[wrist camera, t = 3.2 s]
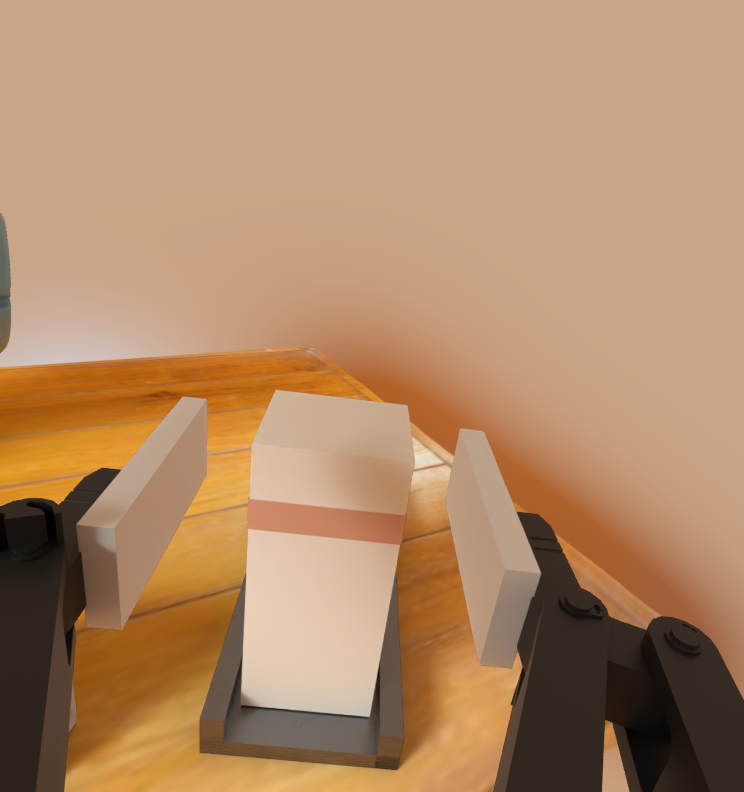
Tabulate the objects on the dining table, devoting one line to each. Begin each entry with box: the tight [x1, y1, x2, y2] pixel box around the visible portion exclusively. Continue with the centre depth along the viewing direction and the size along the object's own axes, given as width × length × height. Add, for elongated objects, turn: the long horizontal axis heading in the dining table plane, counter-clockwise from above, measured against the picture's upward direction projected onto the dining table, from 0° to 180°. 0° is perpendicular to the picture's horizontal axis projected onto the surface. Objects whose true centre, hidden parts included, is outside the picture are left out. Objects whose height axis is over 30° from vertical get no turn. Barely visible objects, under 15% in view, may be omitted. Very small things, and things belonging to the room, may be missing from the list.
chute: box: [200, 571, 404, 770], centre depth 39 cm, size 24×10×2 cm, turn 179°
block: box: [241, 390, 415, 717], centre depth 29 cm, size 6×7×16 cm
